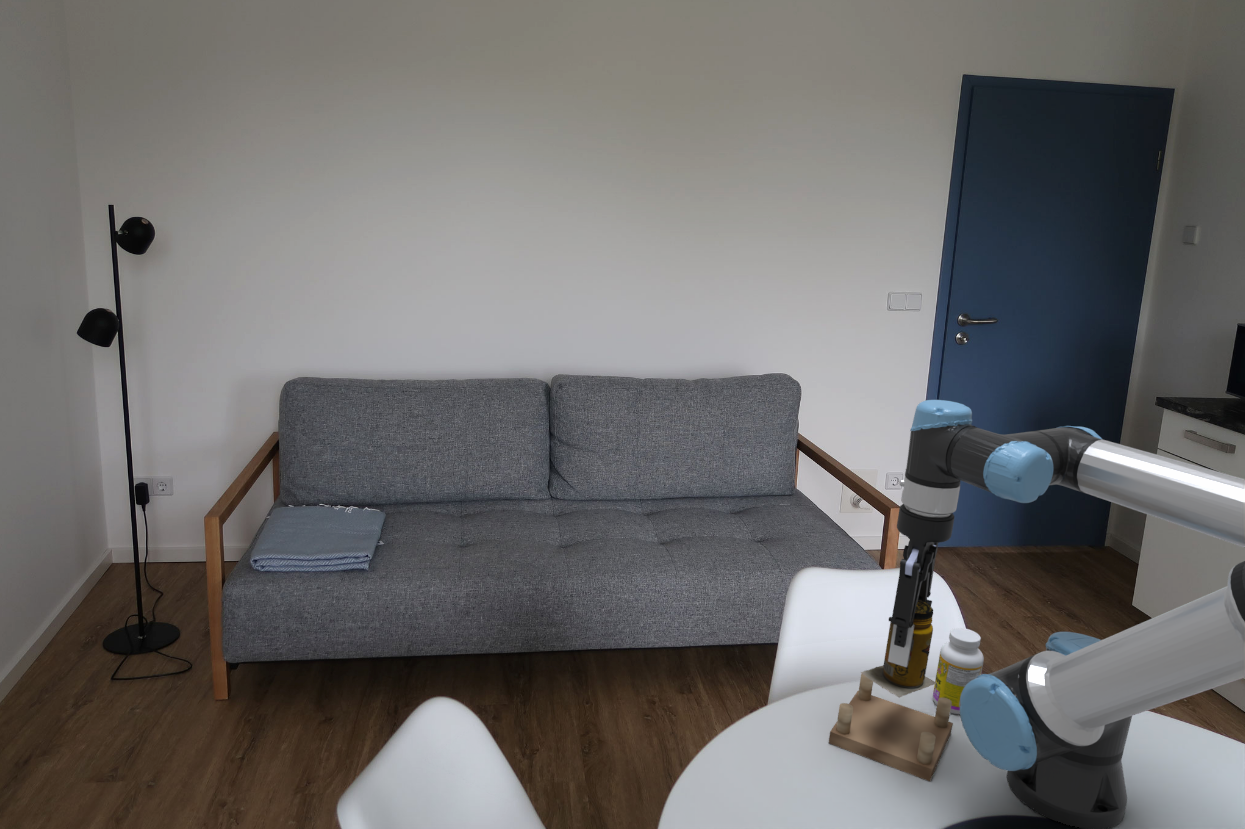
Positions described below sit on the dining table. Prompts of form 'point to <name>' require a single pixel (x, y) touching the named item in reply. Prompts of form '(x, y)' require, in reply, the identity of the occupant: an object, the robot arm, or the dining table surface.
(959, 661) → the supplement bottle
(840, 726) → the peg holder
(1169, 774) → the dining table surface
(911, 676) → the condiment
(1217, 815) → the dining table surface
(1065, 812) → the robot arm
